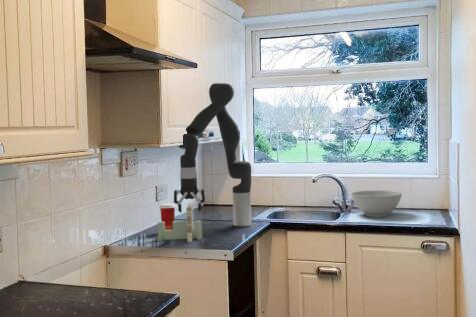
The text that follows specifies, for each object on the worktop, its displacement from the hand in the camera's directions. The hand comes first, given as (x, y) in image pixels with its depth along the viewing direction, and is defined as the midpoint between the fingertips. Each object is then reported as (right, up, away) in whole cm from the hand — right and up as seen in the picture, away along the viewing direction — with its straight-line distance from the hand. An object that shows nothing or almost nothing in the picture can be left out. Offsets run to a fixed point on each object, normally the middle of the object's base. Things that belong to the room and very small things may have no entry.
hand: (189, 211), depth 239 cm
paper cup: (-12, -12, +15) cm, 23 cm away
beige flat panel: (0, -12, +1) cm, 12 cm away
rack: (-5, -12, 0) cm, 13 cm away
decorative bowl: (+99, -7, +47) cm, 110 cm away
